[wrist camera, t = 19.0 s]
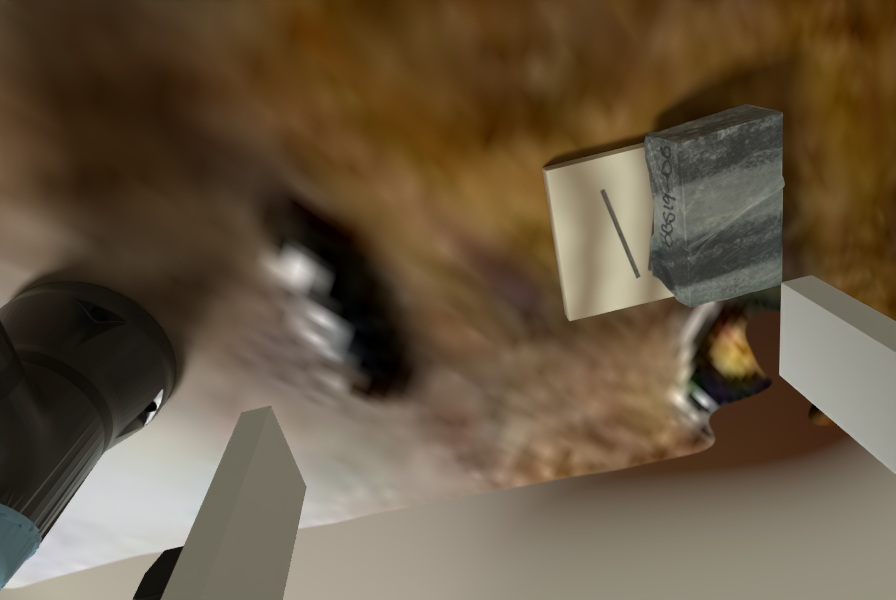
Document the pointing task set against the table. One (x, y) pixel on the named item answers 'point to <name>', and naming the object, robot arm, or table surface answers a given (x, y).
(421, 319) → the table surface
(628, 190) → the board
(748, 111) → the stone block
